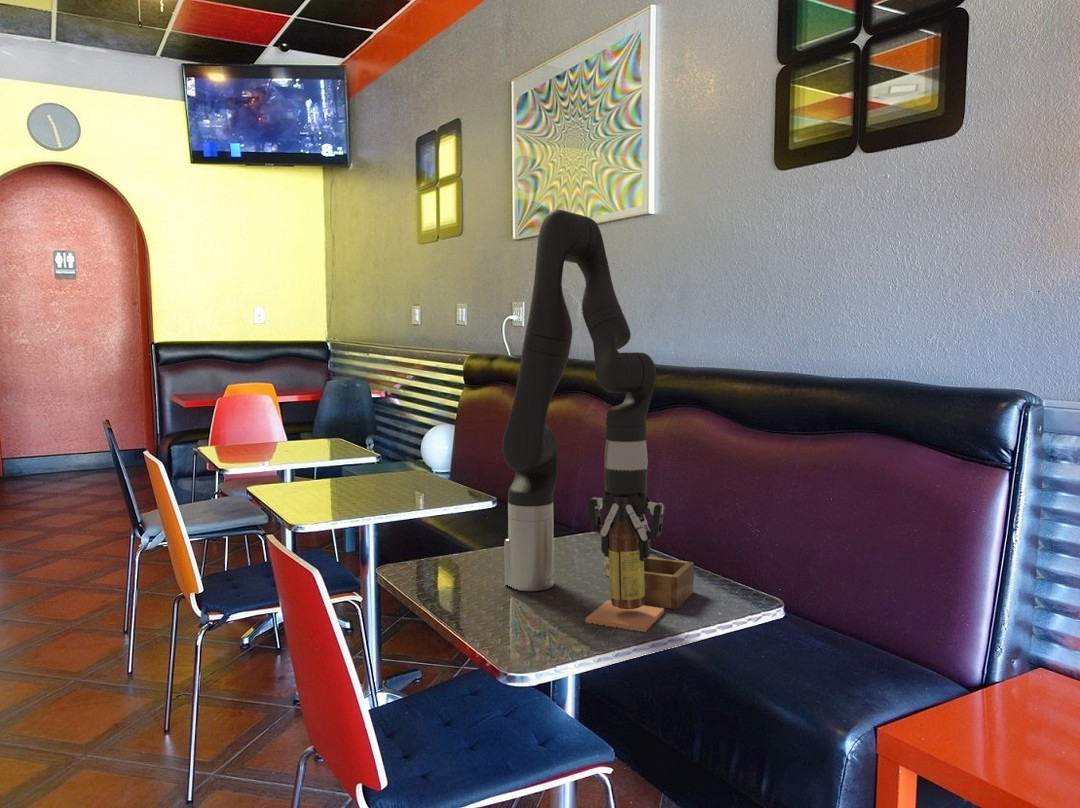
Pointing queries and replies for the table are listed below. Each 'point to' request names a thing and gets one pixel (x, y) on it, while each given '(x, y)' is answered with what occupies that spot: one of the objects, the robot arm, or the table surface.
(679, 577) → the square holder
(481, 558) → the table surface
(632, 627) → the terracotta mat
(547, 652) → the table surface
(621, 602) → the sauce bottle
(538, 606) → the table surface
